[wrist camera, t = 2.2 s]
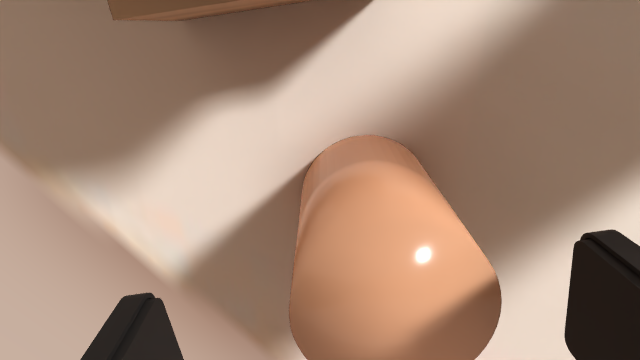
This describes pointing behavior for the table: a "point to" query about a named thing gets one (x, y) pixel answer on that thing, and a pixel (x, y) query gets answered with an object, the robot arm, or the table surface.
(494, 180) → the table surface
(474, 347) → the terracotta capsule
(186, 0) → the walnut base block
